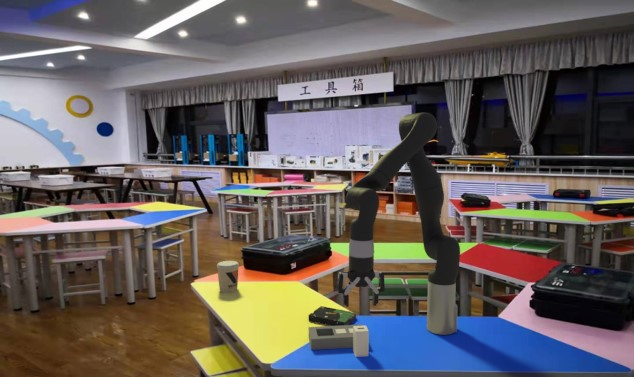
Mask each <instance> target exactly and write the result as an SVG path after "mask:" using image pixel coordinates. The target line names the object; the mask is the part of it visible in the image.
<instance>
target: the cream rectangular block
mask: <svg viewBox="0 0 634 377" xmlns="http://www.w3.org/2000/svg"><path fill="white" fill-rule="evenodd" d="M369 332H370V331H369V329H368V327H367V325H362V326H353V347H352V351H353V354H354V356H355V358H359V357H369V355H370V354H369V351H370V350H369V346H370V345H369V341H370V340H369V339H370V337H369V336H370V334H369Z"/></svg>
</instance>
